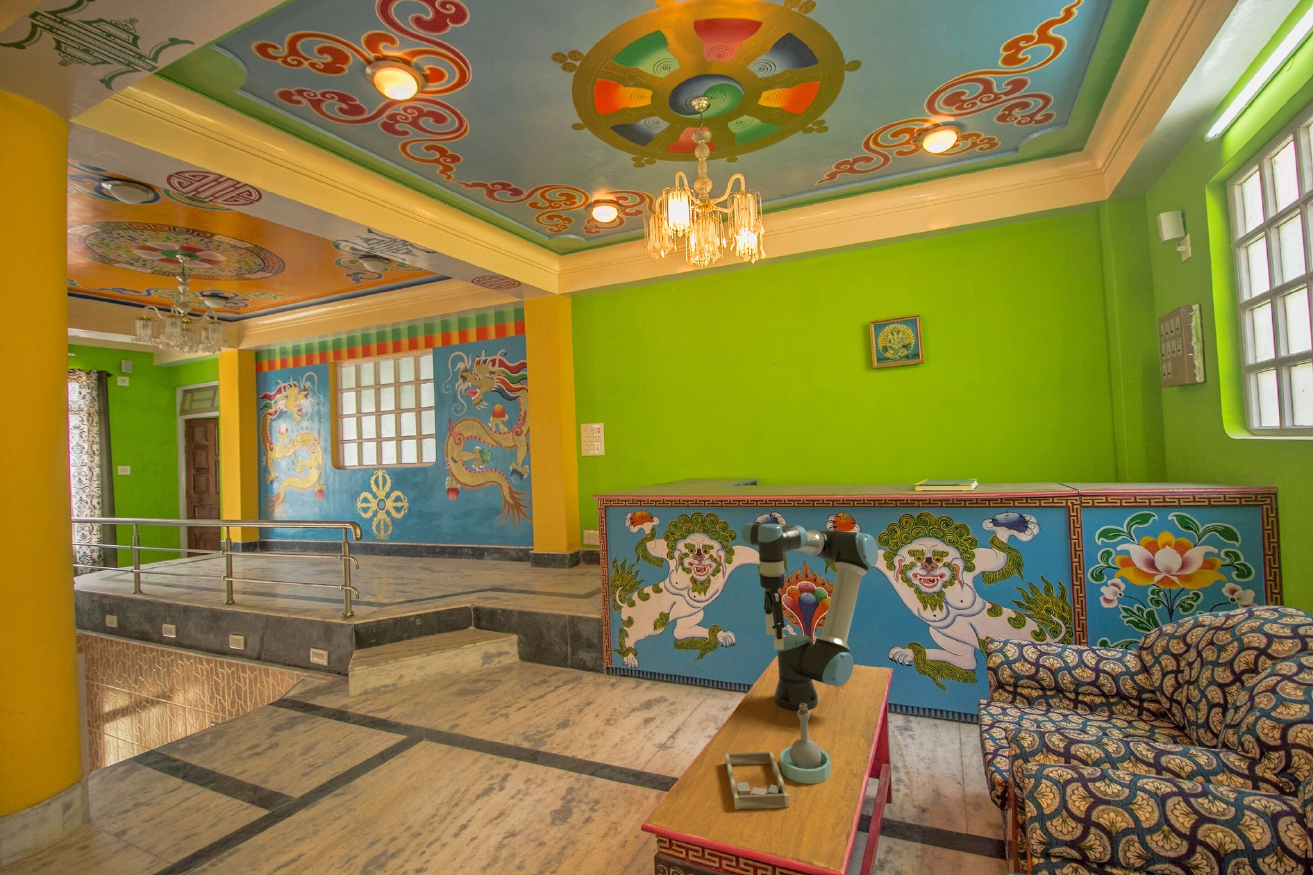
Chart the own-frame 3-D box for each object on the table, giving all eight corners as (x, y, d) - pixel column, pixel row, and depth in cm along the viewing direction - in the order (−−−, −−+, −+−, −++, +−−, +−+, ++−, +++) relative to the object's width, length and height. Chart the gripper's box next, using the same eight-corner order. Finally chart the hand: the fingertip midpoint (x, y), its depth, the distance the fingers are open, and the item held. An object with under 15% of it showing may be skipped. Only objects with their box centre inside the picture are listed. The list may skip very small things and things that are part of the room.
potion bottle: (822, 761, 176) (819, 699, 176) (820, 777, 168) (818, 713, 168) (791, 757, 179) (789, 696, 179) (788, 773, 171) (786, 710, 171)
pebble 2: (771, 792, 163) (770, 784, 163) (780, 794, 162) (780, 786, 162) (768, 799, 160) (767, 791, 160) (777, 801, 159) (777, 793, 159)
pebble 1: (752, 802, 160) (751, 792, 160) (754, 795, 162) (753, 787, 162) (765, 804, 158) (764, 795, 158) (767, 798, 161) (766, 789, 161)
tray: (725, 763, 178) (725, 753, 178) (772, 761, 178) (772, 751, 178) (735, 809, 156) (734, 797, 156) (789, 807, 156) (788, 795, 156)
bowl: (776, 757, 180) (776, 745, 180) (823, 755, 180) (822, 743, 180) (786, 784, 166) (786, 771, 166) (837, 782, 166) (836, 769, 166)
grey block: (737, 791, 164) (736, 782, 164) (747, 790, 165) (747, 781, 165) (739, 800, 160) (739, 791, 160) (750, 799, 161) (750, 790, 161)
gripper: (753, 565, 202) (756, 629, 202) (767, 584, 177) (770, 656, 177) (775, 564, 202) (778, 628, 202) (792, 582, 177) (796, 655, 177)
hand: (774, 641), depth 189 cm, fingers open, 13 cm apart
